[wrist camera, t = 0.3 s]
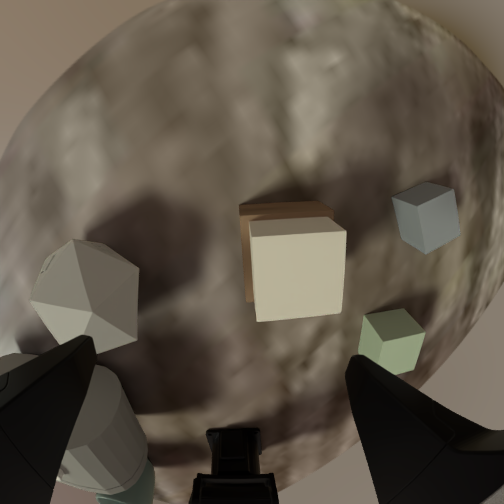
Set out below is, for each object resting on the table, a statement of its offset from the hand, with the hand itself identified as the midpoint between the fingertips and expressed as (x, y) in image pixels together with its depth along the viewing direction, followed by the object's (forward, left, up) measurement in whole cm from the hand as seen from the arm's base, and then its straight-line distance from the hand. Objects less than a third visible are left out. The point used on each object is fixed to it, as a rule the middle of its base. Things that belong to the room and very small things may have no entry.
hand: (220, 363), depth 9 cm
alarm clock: (-17, +21, -14) cm, 30 cm away
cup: (-33, +18, -14) cm, 40 cm away
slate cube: (+1, -16, -14) cm, 21 cm away
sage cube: (-11, -14, -14) cm, 23 cm away
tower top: (0, -4, -10) cm, 11 cm away
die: (-3, +11, -14) cm, 18 cm away
